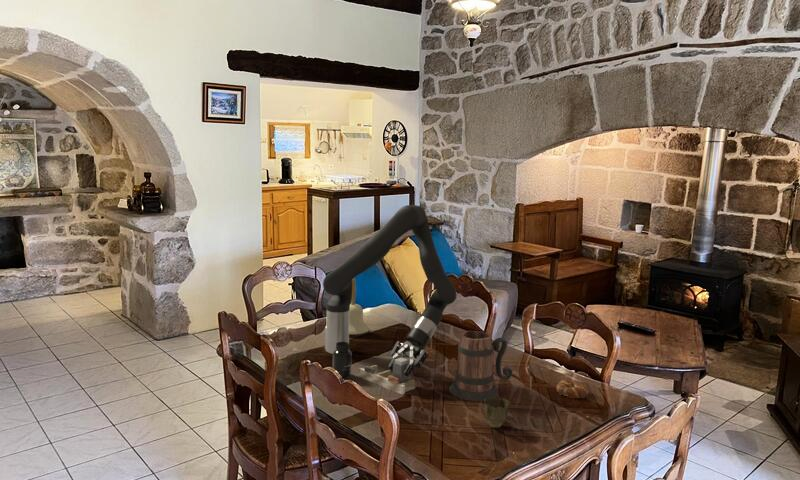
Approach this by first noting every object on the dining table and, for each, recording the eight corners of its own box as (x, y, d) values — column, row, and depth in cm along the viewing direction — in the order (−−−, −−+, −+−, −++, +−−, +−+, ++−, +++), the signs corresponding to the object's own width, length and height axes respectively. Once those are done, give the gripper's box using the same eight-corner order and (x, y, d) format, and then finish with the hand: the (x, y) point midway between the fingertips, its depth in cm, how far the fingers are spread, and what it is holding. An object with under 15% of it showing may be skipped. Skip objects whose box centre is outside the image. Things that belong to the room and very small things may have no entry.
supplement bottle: (348, 379, 210) (348, 347, 208) (329, 377, 211) (330, 345, 209) (353, 373, 216) (354, 341, 215) (335, 371, 218) (336, 339, 216)
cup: (480, 420, 180) (481, 396, 179) (504, 420, 180) (505, 395, 179) (486, 432, 172) (487, 406, 171) (510, 432, 173) (512, 406, 172)
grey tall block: (392, 387, 204) (393, 359, 203) (400, 384, 207) (401, 356, 206) (400, 390, 201) (401, 362, 200) (408, 387, 204) (409, 359, 203)
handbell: (328, 333, 264) (328, 278, 260) (349, 325, 276) (350, 273, 273) (355, 339, 255) (356, 283, 252) (376, 331, 267) (377, 278, 264)
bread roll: (547, 389, 207) (548, 379, 207) (572, 385, 211) (573, 375, 211) (569, 402, 196) (570, 391, 196) (595, 398, 200) (596, 387, 200)
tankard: (464, 403, 192) (467, 344, 189) (440, 385, 207) (442, 330, 204) (524, 393, 202) (527, 337, 199) (496, 376, 217) (499, 324, 214)
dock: (358, 376, 213) (359, 364, 212) (373, 371, 218) (373, 359, 217) (402, 394, 198) (402, 381, 197) (416, 389, 203) (417, 376, 202)
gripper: (402, 322, 212) (377, 361, 205) (432, 331, 202) (407, 372, 195) (412, 333, 216) (388, 372, 209) (441, 343, 206) (417, 383, 199)
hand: (397, 372), depth 202 cm, fingers open, 6 cm apart
